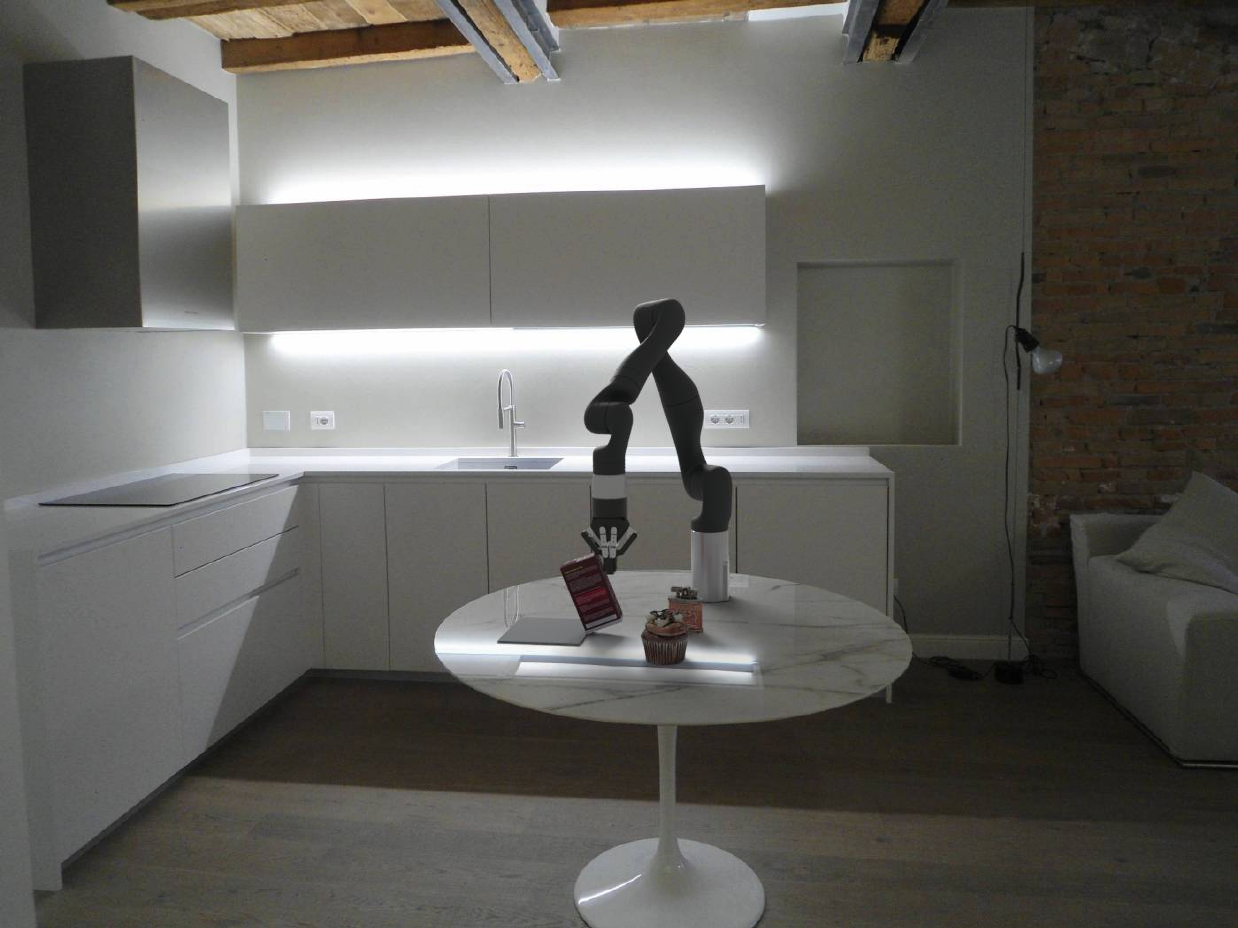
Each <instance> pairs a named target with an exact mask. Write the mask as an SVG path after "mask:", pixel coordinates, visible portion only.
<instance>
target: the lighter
mask: <svg viewBox="0 0 1238 928" xmlns="http://www.w3.org/2000/svg"><path fill="white" fill-rule="evenodd" d="M670 592H671V593H675V594H670V595H667V601H668V609H669V610H670V613H671V612H672V613H678V614H681V615H682V621H683V623H684V624H685V625H686V630H687V632H688V635H689V634H690V635H692V634H693V635H701V634H703V633H704V627H703V626H704V625H703V624H704V623H703V622H704V621H703V603H704V602H703V598H700V597H697V594H698V589H696V588H692V586H690V585H686V586H684V587H683V586H680V585H671V587H670Z"/></svg>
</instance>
